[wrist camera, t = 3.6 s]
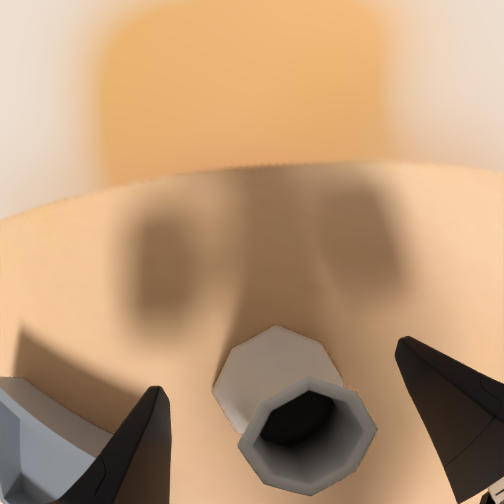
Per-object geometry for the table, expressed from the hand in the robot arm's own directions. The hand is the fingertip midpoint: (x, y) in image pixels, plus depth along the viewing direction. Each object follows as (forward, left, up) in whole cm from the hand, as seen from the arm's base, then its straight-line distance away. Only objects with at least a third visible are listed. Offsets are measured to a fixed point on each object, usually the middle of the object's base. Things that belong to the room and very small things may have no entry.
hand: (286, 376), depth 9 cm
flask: (-1, -1, -7) cm, 7 cm away
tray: (-14, +11, -7) cm, 19 cm away
